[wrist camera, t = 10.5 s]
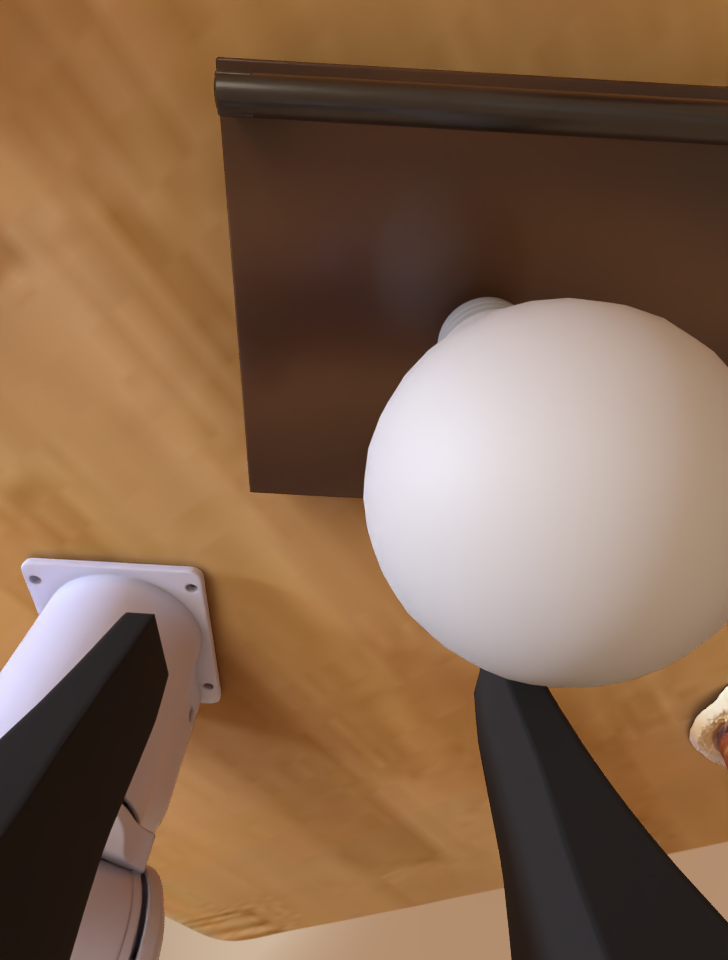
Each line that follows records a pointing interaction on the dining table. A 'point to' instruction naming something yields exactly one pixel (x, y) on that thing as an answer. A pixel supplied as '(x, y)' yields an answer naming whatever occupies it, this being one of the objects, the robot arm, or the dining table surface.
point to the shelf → (445, 229)
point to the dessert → (712, 731)
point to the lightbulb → (557, 491)
